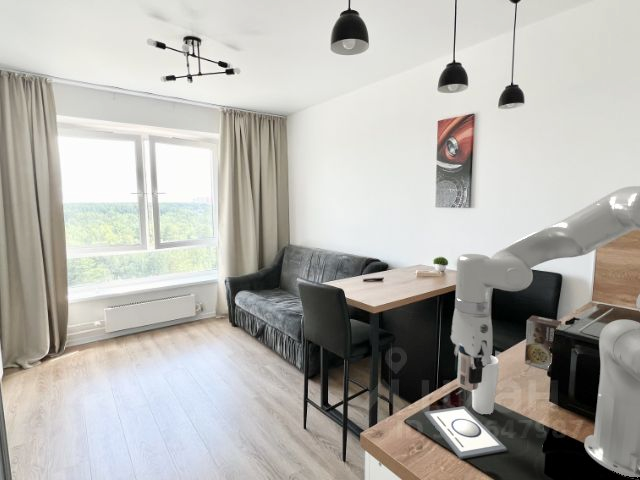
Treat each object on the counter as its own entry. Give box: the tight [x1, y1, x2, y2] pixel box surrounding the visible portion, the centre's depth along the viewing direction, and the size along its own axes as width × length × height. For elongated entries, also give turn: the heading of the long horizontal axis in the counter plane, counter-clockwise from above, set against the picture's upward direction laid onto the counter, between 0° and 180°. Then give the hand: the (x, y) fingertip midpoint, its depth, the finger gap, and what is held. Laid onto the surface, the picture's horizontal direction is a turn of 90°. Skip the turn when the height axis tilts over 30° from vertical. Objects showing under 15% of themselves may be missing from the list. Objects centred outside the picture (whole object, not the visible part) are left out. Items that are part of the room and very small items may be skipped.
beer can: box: [456, 343, 479, 391], centre depth 85 cm, size 5×5×12 cm
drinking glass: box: [471, 355, 500, 415], centre depth 94 cm, size 7×7×15 cm
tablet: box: [423, 405, 508, 460], centre depth 87 cm, size 16×12×1 cm
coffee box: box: [524, 314, 562, 371], centre depth 119 cm, size 9×6×16 cm
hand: (467, 375), depth 85 cm, fingers closed on beer can, 4 cm apart
